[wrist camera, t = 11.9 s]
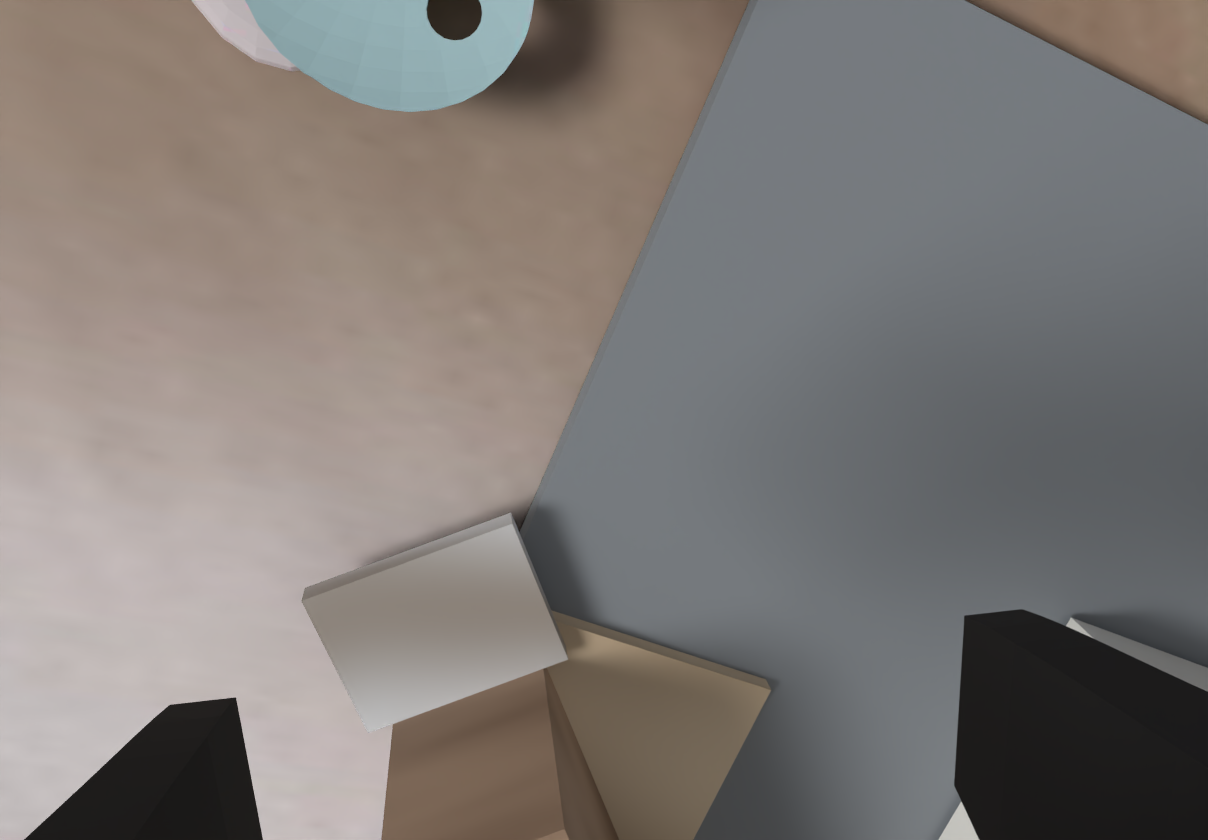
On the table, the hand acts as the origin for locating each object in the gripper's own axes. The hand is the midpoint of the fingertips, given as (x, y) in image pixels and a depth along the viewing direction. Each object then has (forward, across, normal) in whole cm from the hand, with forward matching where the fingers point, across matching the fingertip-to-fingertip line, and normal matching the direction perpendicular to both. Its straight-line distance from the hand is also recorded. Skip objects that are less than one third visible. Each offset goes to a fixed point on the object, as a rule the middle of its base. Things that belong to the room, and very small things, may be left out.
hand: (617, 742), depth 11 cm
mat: (+10, -7, +6) cm, 14 cm away
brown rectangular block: (+9, +1, +8) cm, 12 cm away
